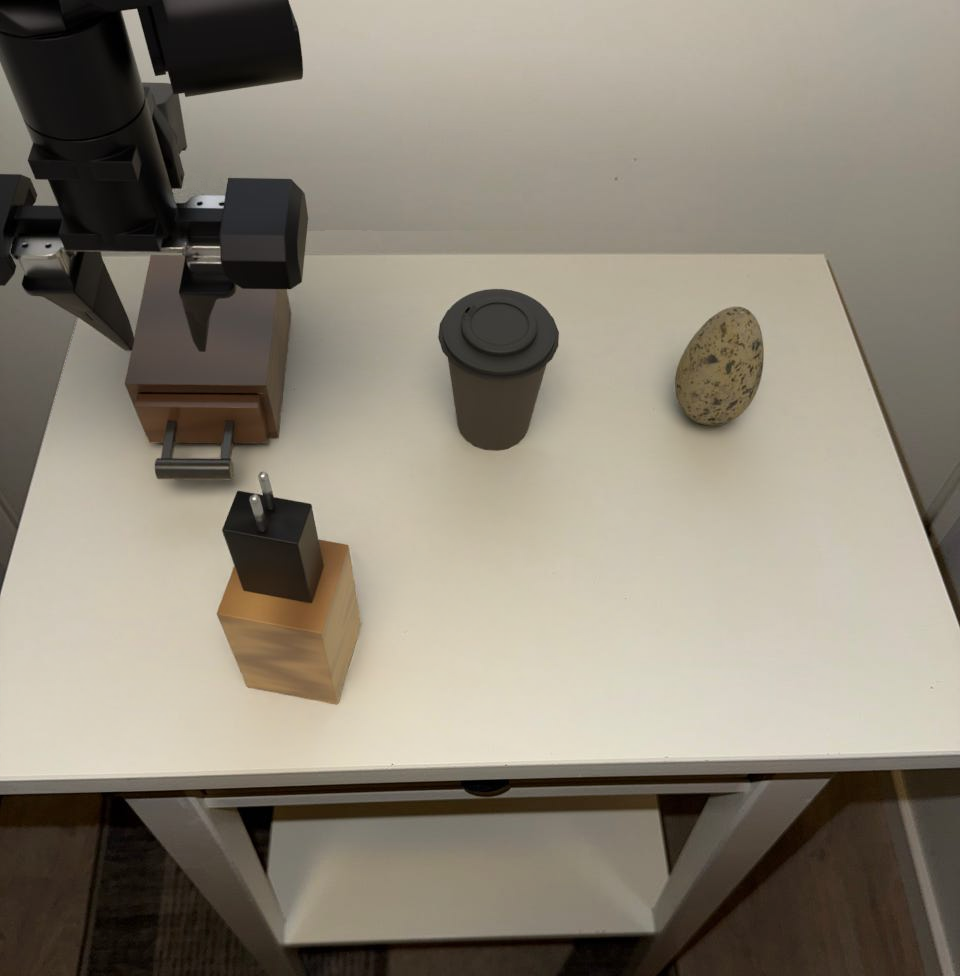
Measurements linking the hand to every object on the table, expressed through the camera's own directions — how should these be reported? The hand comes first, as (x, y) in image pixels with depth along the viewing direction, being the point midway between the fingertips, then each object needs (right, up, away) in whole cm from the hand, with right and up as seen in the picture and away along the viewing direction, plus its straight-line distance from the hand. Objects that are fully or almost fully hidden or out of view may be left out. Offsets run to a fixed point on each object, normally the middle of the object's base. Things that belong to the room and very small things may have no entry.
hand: (166, 345), depth 60 cm
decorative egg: (+36, -1, +15) cm, 39 cm away
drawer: (0, -1, +12) cm, 12 cm away
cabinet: (-1, +2, +15) cm, 15 cm away
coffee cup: (+20, -2, +14) cm, 24 cm away
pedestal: (+8, -19, +4) cm, 21 cm away
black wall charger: (+8, -14, -5) cm, 17 cm away
